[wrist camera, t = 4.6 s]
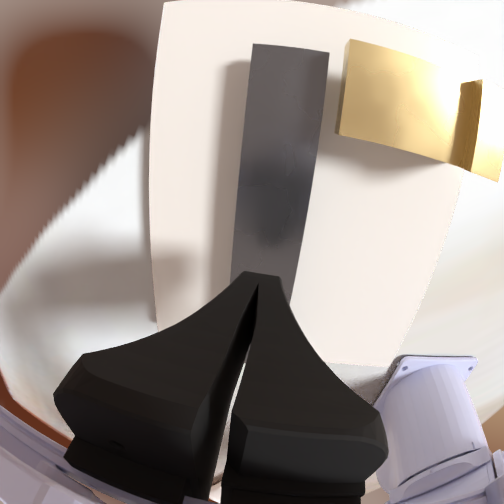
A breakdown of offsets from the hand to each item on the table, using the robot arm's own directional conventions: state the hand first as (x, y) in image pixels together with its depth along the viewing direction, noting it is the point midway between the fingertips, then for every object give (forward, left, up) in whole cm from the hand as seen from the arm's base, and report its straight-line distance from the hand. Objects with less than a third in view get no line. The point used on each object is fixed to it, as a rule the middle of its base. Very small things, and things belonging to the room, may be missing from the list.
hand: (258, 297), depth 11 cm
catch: (+8, -5, -5) cm, 10 cm away
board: (+2, -1, -7) cm, 7 cm away
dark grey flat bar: (+1, 0, -4) cm, 5 cm away
